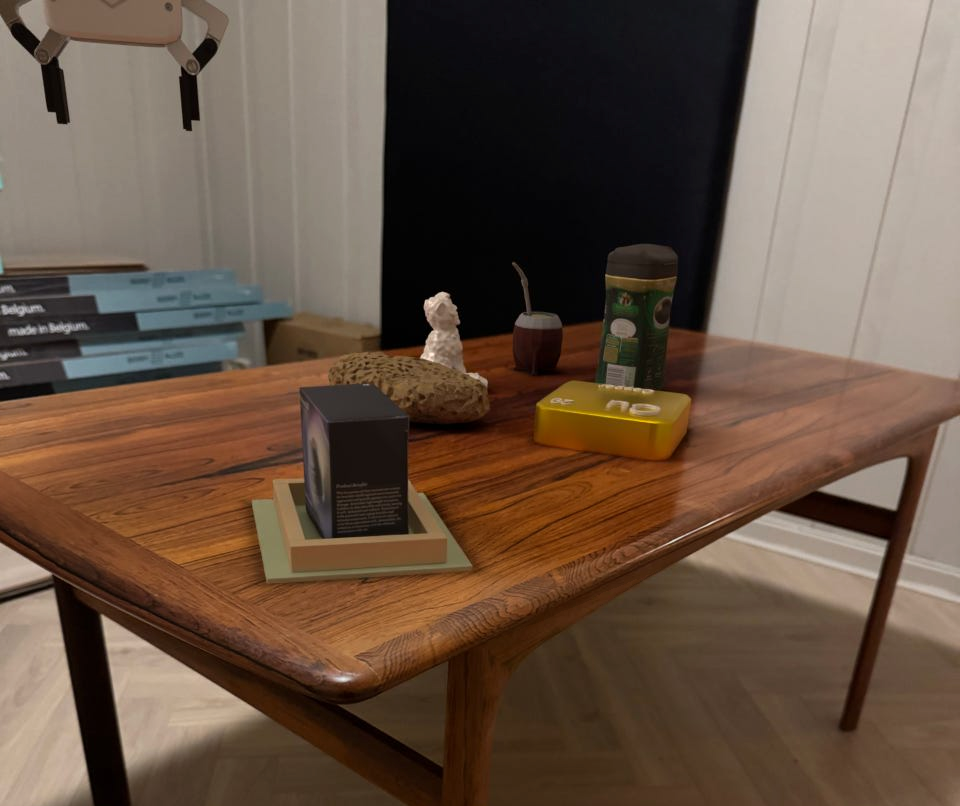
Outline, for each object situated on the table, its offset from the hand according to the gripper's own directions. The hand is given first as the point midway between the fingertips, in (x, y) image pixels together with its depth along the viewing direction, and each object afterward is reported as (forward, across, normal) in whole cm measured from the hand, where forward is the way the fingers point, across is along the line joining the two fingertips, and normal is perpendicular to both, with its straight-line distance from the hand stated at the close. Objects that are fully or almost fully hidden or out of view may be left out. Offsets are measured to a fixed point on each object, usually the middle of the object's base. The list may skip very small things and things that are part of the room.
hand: (126, 127), depth 78 cm
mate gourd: (+28, +50, +38) cm, 69 cm away
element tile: (+28, +48, +4) cm, 56 cm away
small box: (+28, +15, -22) cm, 39 cm away
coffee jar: (+28, +59, +25) cm, 70 cm away
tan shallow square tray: (+28, +15, -22) cm, 39 cm away
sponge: (+28, +27, +15) cm, 42 cm away
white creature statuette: (+28, +35, +29) cm, 54 cm away
